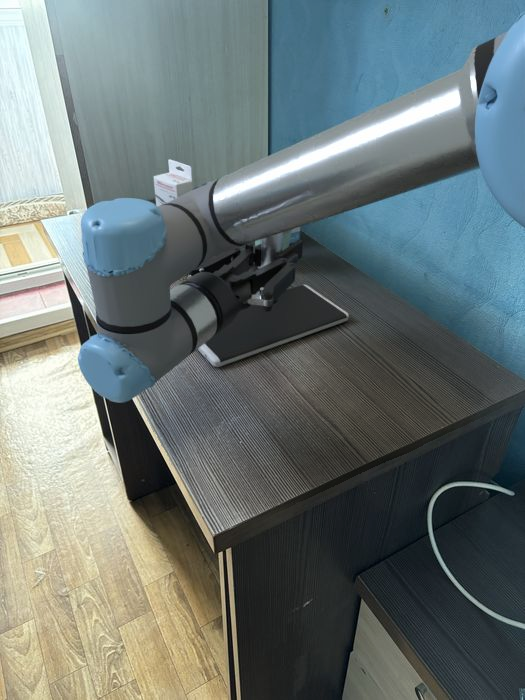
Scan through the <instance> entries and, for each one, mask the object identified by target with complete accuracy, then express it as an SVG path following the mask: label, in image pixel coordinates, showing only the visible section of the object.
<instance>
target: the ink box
mask: <svg viewBox="0 0 525 700" xmlns="http://www.w3.org/2000/svg"><path fill="white" fill-rule="evenodd" d="M167 162H168V164H167V165H168V171H169V172H165V173H160V174H156V175H153V186H154V195H155V205H156V206H157V207H158V206H160V205H163V204H166V203H168V202H170V201H172V200H174V199H176V198H178V197H180V196H181V195H184V194H186V193H188V192H190V191H191V190H193V189H194V182H193V170H192V166H191V165H187V164H185V163H182V162H180V161H176V160H173V159H171V158H169V159H168V160H167ZM179 167H180V169H182V170H180V169H178V168H179Z"/></svg>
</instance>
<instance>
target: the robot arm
mask: <svg viewBox="0 0 525 700" xmlns="http://www.w3.org/2000/svg"><path fill="white" fill-rule="evenodd" d="M479 169H480V172H481V175H482V177H483V179H484V181H485V183H486V186H487V187H488V188H487V189H489V191H490V193H491V195H492V197H494V199H495V201H496V202H497V203H498V205H499V206H500V207H501V208H502V209H503V211H504V212H505V213H506V214H507V215H508V216H509V217H510V218H512V219H513V220H514V221H515V222H516V223H517V224H519V225H520V226H521V227H522V228H524V229H525V10H524V11H523V12H522V13H520V14H519V16H518V17H516V19H515V22H514V23H513V24H512V25H511V27H510V28H509V29H508V30H507V31H505V32H503V33H501V34H499V35H498V36H495V37H493V38H491V39H489V40H487V41H485V42H483V43H481V44H478V45H476V46H474V47H473V48H471V51H470V53H469V55H468V57H467V59H466V60H465V63H464V65H463V66H462V68H460V69H458V70H456V71H454V72H451V73H449V74H447V75H445V76H442V77H440V78H438V79H436V80H433V81H432V82H429V83H427V84H424V85H422V86H420V87H418V88H416V89H414V90H412V91H409V92H407V93H405V94H403V95H400V96H398V97H395V98H393V99H392V100H391V99H390V100H389V101H388V102H385V103H383V104H380V105H378V106H376V107H374V108H371V109H370V110H368V111H365V112H362V113H361V114H358V115H356V116H354V117H352V118H349V119H347V120H345V121H343V122H341V123H339V124H336V125H334V126H332V127H329V128H327V129H325V130H323V131H321V132H319V133H316V134H313V135H311V136H309V137H308V138H306V139H303V140H300V141H298V142H296V143H294V144H292V145H289V146H287V147H285V148H283V149H281V150H279V151H276V152H274V153H272V154H269V155H268V156H265V157H263V158H260V159H259V160H256V161H254V162H252V163H250V164H248V165H246V166H243V167H241V168H238V169H237V170H234V171H232V172H229V173H227V174H226V175H223V176H222V177H220V178H217V179H214V180H212V181H208V182H205V183H203V184H200V185H198V186H196V187H193V190H191V191H190V192H188V193H186V194H184V195H181V196H180V197H178V198H176V199H174V200H172V201H170V202H168V203H166V204H163V205H160V206H158V207H157V206H156V203H153V202H151V201H149V200H146V199H142V198H134V197H118V198H114V199H113V200H103V201H99V202H97V203H94V204H93V205H91V206H89V207H88V208H87V209H86V210H85V211H84V212H83V214H82V216H81V219H80V230H81V244H82V257H83V258H82V259H83V262H84V264H85V266H86V270H87V275H88V276H87V277H88V280H89V285H90V289H91V294H92V299H93V304H94V309H95V322H96V323H95V324H96V326H97V333H96V334H94V335H90V336H89V339H88V340H86V341H85V342H84V343H82V345H81V346H80V348H79V353H78V355H77V363H78V367H79V370H80V372H81V375H82V376H83V378H84V380H85V381H86V383H87V385H88V386H90V388H91V389H92V390H93V391H94V392H95V393H97V394H98V395H99V396H100V397H102V398H105V399H107V400H108V401H110V402H113V403H117V404H120V403H121V404H123V403H127V402H130V401H131V400H133V399H134V398H136V397H137V396H138V395H140V394H142V393H144V392H145V391H147V390H148V389H150V388H153V387H155V385H156V383H157V382H159V381H160V379H162V378H163V377H164V376H166V375H167V374H168V373H169V372H171V371H172V370H173V369H174V368H176V367H177V366H178V365H180V364H181V363H182V362H183V361H184V360H186V359H187V358H189V356H190V355H192V354H193V353H195V352H196V351H198V348H199V347H201V346H202V345H203V344H205V343H206V342H207V341H208V340H210V339H211V338H212V337H213V336H215V335H216V334H218V333H219V332H220V331H222V330H223V329H224V328H225V327H227V326H228V325H229V324H230V323H231V322H232V321H233V320H234V318H235V317H236V315H237V314H238V312H239V311H241V310H245V309H248V308H249V307H250V306H251V305H261V306H263V311H266V312H269V311H271V310H272V307H273V303H274V302H275V301H276V300H277V299H278V298H279V297H280V296H281V295H282V294H283V293H284V291H285V290H287V289H289V287H291V286H292V284H293V283H295V282H296V267H297V265H298V261H299V260H301V259H302V258H303V251H304V240H302V239H300V240H298V241H296V242H295V243H291V244H289V247H287V248H286V249H285V250H283V251H282V252H281V253H279V254H277V260H275V261H273V262H271V263H269V264H267V265H265V266H263V267H261V268H258V267H260V266H261V244H259V245H257V246H254V244H252V243H255V241H257V240H260V239H263V238H267V237H270V236H273V235H276V234H279V233H282V232H285V231H288V230H291V229H294V228H297V227H300V228H301V227H303V226H306V225H310V224H312V223H317V222H319V221H321V220H325V219H328V218H331V217H335V216H337V215H340V214H343V213H346V212H349V211H353V210H356V209H360V208H362V207H365V206H369V205H371V204H374V203H377V202H380V201H381V202H382V201H383V200H386V199H390V198H393V197H396V196H399V195H402V194H404V193H405V194H406V193H409V192H411V191H415V190H418V189H421V188H423V187H427V186H430V185H433V184H436V183H439V182H442V181H445V180H448V179H451V178H454V177H458V176H461V175H464V174H467V173H469V172H473V171H476V170H479ZM243 246H244V247H245V249H244V250H241V249H242V248H241V247H243ZM254 266H255V267H257V269H256V270H253V271H250V270H251V269H252V268H253V267H254ZM185 276H187V279H185V280H184V281H181V283H179V284H178V285H175V286H173V287H172V288H171V286H172V285H173V284H174V283H176V282H178V280H181V279H182V278H184V277H185Z"/></svg>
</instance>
